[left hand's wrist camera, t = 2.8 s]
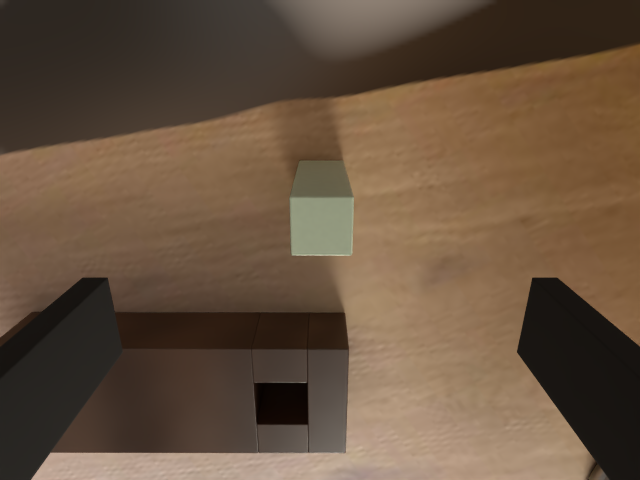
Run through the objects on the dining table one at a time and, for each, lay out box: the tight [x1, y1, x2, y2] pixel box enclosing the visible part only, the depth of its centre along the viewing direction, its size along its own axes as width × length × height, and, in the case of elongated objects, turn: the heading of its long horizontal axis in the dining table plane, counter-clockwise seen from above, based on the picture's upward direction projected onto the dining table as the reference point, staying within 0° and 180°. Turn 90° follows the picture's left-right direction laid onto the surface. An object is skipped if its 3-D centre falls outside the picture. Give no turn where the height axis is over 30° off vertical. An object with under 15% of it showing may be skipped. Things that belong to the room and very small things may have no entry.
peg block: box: [0, 312, 349, 453], centre depth 30 cm, size 26×10×12 cm, turn 90°
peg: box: [289, 160, 354, 255], centre depth 26 cm, size 3×3×10 cm
